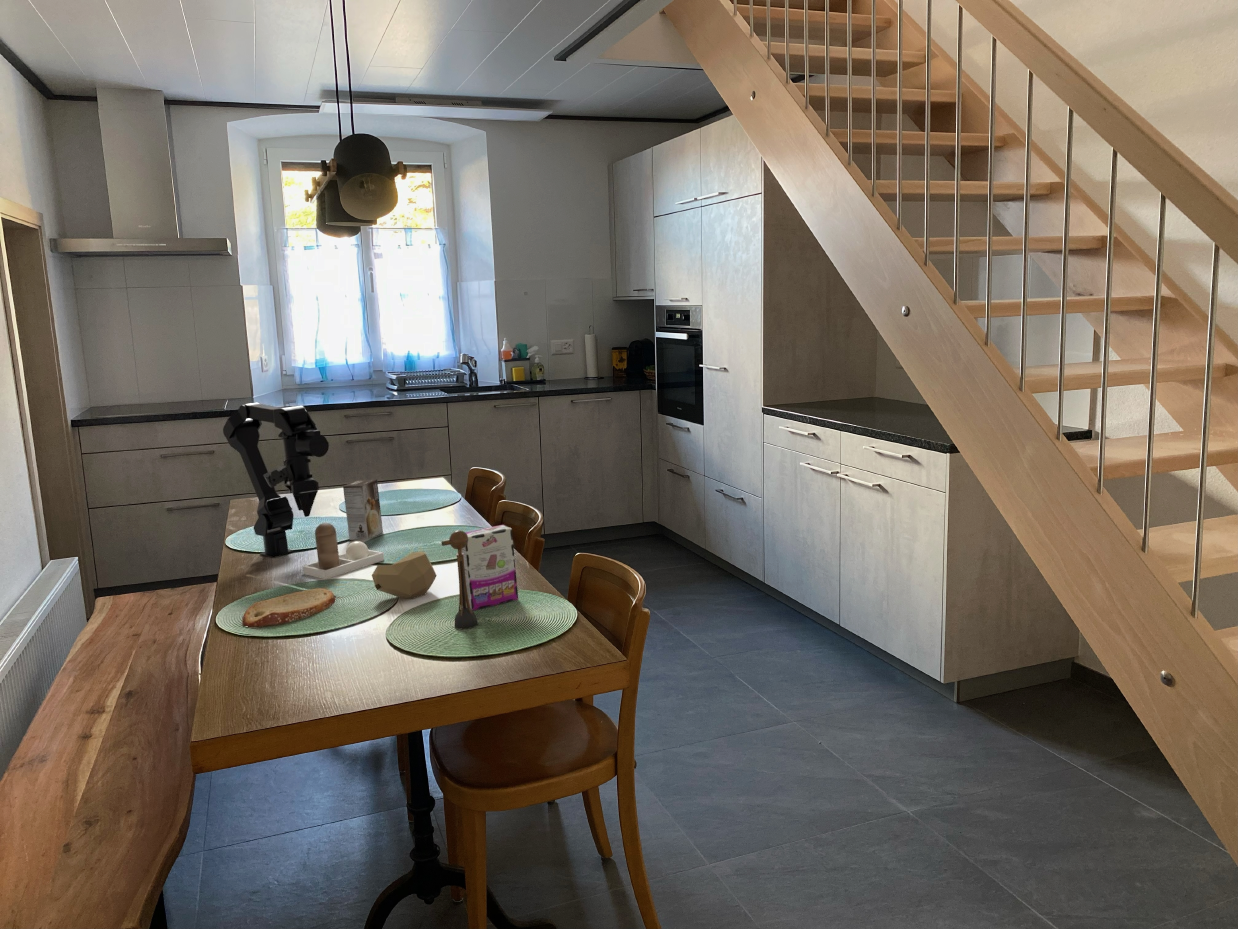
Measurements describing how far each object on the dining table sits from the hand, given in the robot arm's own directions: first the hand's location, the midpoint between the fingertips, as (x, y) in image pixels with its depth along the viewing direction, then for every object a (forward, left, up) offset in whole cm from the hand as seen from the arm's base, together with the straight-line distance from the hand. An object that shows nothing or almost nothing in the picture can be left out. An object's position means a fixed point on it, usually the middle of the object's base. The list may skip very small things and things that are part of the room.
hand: (303, 513), depth 236 cm
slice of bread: (+31, -27, -14) cm, 43 cm away
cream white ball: (+15, +4, -12) cm, 20 cm away
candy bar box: (+68, -1, -13) cm, 69 cm away
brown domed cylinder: (+15, -4, -12) cm, 20 cm away
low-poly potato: (+47, -7, -13) cm, 49 cm away
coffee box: (-7, +24, -13) cm, 28 cm away
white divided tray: (+15, 0, -13) cm, 20 cm away
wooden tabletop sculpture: (+73, -14, -13) cm, 75 cm away
